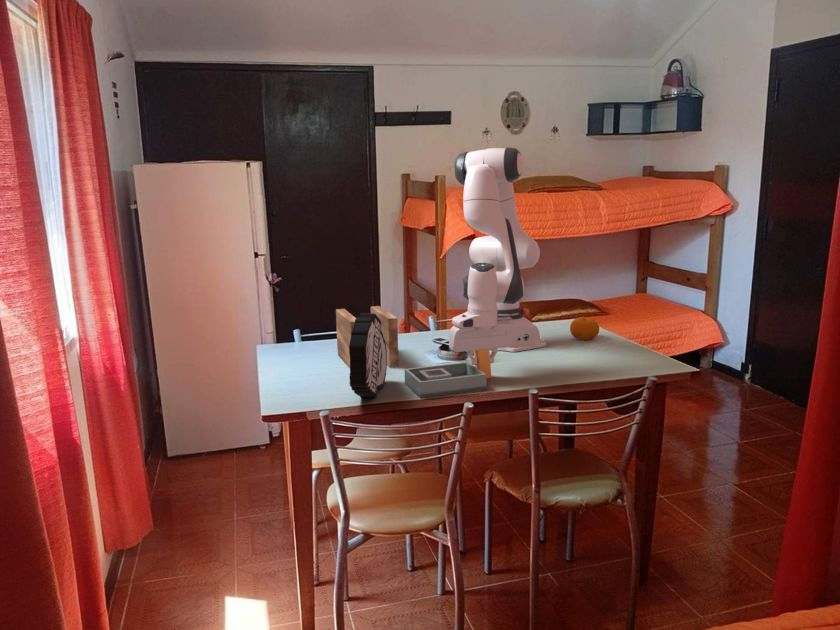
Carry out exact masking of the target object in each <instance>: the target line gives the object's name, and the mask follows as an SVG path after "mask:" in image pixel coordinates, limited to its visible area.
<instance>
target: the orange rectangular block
mask: <svg viewBox="0 0 840 630" xmlns="http://www.w3.org/2000/svg"><path fill="white" fill-rule="evenodd" d="M490 354H491V353H490V349H483V350H474V354H473V357H474V358H476V359H477V365H474V367H476V368H477V369H479V370H480V371H482V372H484V373H485V374H487V379H490V378H492V367H491V365H492V364H491V363H490Z"/></svg>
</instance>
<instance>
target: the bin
mask: <svg viewBox="0 0 840 630" xmlns="http://www.w3.org/2000/svg"><path fill="white" fill-rule="evenodd" d="M439 368H443V369H444V370H446V371H447V372H448V373H450V374H451V375H452V378H445V379H437V380H428V381H421V380H420V379H419V371H422V370H430V369H439ZM403 369H404V385H405V386H406V387H408V388H409V389H410V390H411V391H412V392H413V393H414V394H415V395H416V396H417V397H418V398H419V399H425V398H429V397H431V398H432V397H440V396H446V395H455V394H462V393H471V392H477V391H486V390H487V379H488V378H487V374H485V373H484V372H482V371H480V370H479V369H477V368H476V367H475V365H471V363H469V362H468V361H465V362H457V363H456V362H455V363H446V364H445V363H444V364H436V365H429V366H422V367H421V366H419V367H411V368H403Z"/></svg>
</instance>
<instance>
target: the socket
mask: <svg viewBox="0 0 840 630" xmlns="http://www.w3.org/2000/svg"><path fill="white" fill-rule="evenodd" d="M445 378H452V375H451V374H450V373H448V372H447V371H446V370H444V369H443V368H439V369H430V370H422V371H419V379H420V380H421V381H428V380H437V379H445Z"/></svg>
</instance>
